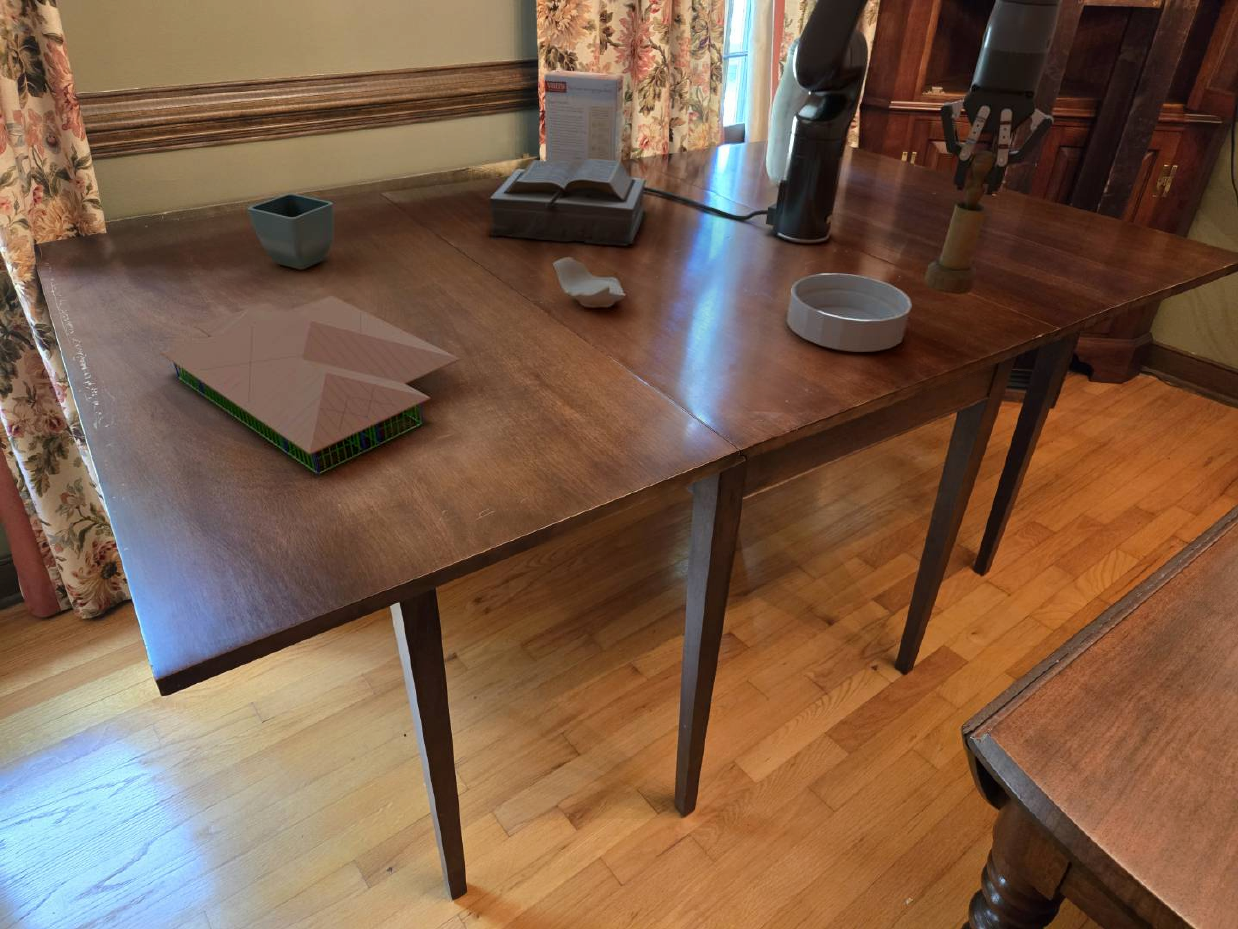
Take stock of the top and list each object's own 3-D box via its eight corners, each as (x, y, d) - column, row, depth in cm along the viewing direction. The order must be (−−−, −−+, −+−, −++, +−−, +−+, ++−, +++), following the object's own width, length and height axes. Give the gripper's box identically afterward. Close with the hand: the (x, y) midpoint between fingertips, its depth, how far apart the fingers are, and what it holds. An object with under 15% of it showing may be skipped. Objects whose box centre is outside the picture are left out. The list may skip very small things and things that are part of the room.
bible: (621, 257, 134) (624, 196, 129) (472, 233, 141) (468, 174, 135) (661, 215, 153) (665, 160, 147) (527, 195, 159) (526, 142, 153)
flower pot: (343, 259, 129) (334, 201, 124) (303, 278, 122) (292, 218, 117) (300, 248, 132) (289, 192, 127) (258, 266, 125) (245, 207, 120)
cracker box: (620, 187, 166) (625, 73, 154) (613, 195, 161) (617, 79, 149) (553, 179, 168) (553, 67, 156) (545, 188, 163) (543, 73, 151)
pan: (770, 336, 112) (775, 302, 109) (806, 296, 124) (811, 265, 121) (888, 366, 106) (896, 331, 104) (913, 321, 118) (922, 288, 115)
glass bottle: (801, 195, 166) (827, 40, 150) (755, 186, 170) (774, 34, 154) (819, 184, 173) (845, 35, 157) (774, 175, 177) (794, 29, 161)
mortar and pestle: (975, 296, 112) (1017, 161, 102) (926, 291, 113) (963, 156, 103) (968, 278, 118) (1007, 147, 107) (921, 273, 119) (956, 143, 108)
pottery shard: (619, 322, 114) (620, 288, 111) (541, 313, 116) (540, 280, 113) (632, 292, 123) (633, 260, 120) (559, 285, 124) (559, 253, 121)
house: (324, 312, 113) (313, 254, 108) (487, 396, 96) (483, 333, 92) (156, 369, 98) (136, 306, 94) (315, 481, 82) (300, 410, 77)
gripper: (1082, 47, 98) (1034, 193, 108) (960, 35, 103) (925, 175, 113) (1078, 55, 93) (1028, 208, 103) (949, 42, 98) (914, 188, 108)
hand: (974, 190), depth 108 cm, fingers closed on mortar and pestle, 3 cm apart
